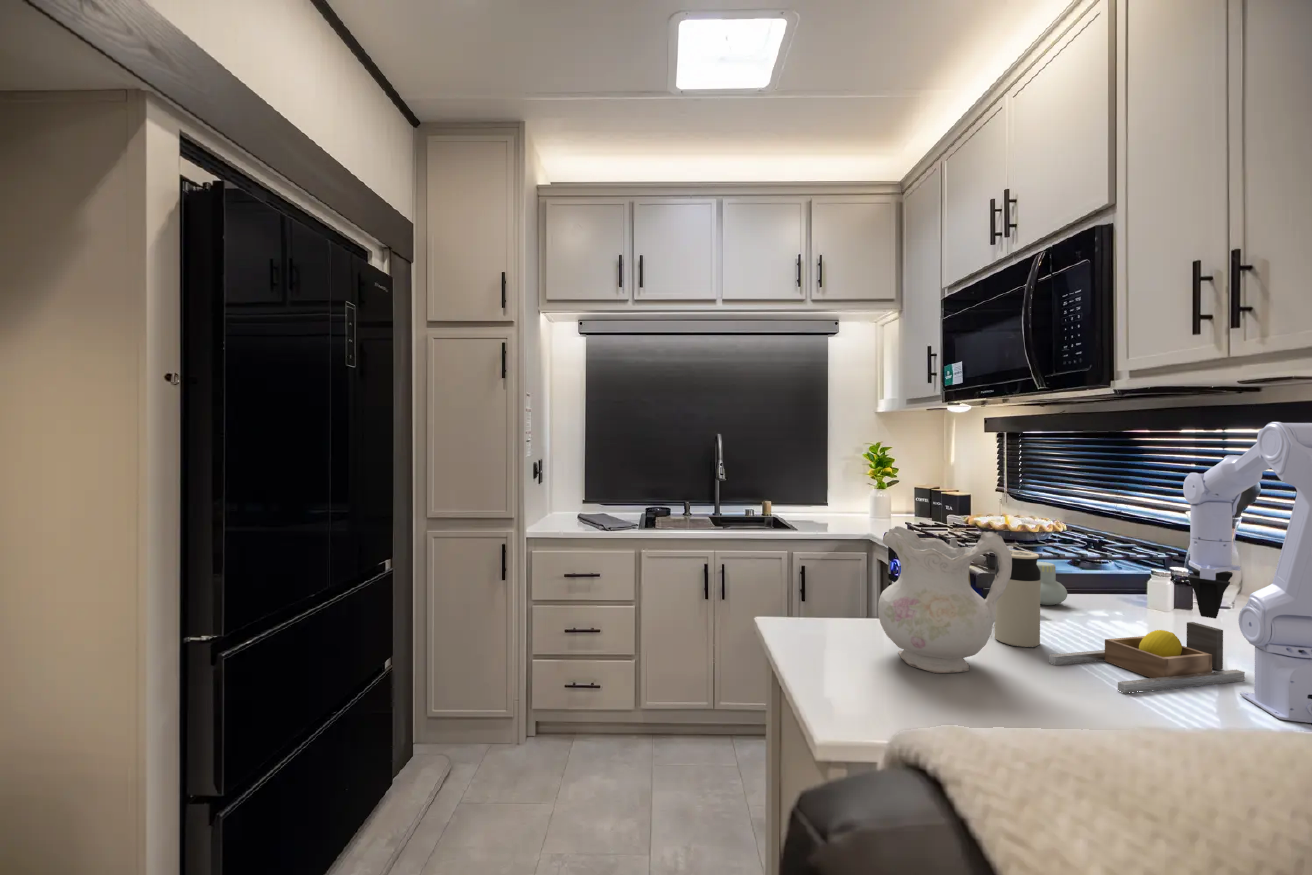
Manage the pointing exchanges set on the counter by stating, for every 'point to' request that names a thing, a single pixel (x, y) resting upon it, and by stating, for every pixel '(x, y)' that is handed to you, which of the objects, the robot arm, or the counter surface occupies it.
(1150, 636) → the lemon
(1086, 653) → the lane rails
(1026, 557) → the travel mug
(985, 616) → the ceramic pitcher
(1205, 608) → the robot arm
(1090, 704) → the counter surface
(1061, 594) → the air freshener
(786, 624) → the counter surface
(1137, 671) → the wooden tray
